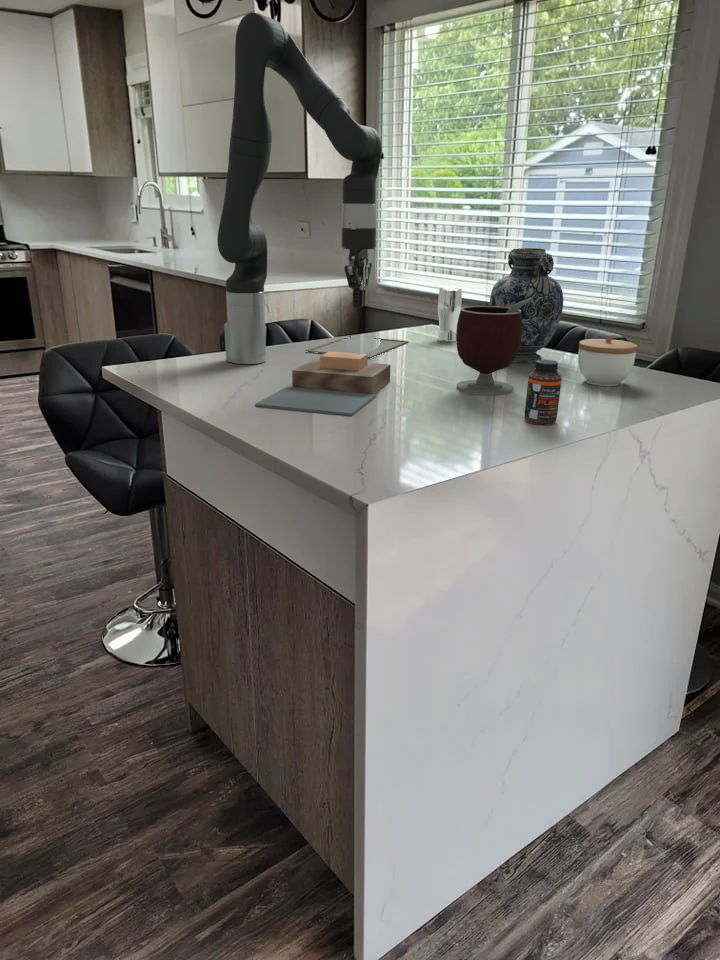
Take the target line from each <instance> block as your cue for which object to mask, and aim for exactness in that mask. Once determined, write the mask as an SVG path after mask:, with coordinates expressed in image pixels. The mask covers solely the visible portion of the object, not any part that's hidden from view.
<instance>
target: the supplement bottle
mask: <svg viewBox="0 0 720 960" xmlns="http://www.w3.org/2000/svg"><path fill="white" fill-rule="evenodd" d="M558 365H559V362H558V361H556V360H553V359H552V360H551V359H541V360H537V361H536V362H535V364H534V370H533V371H531V372H530V373H529V375H528V381H527V387H526V388H527V389H526V398H525V406H524V407H525V408H524V416H523V418H524V420H525V421H526V422H528V423H529V424H530V423H531V424H532V423H533V425H538V426H540V425H541V426H548V425H549V424H550V425H553V424H556V423H557V417H558V412H559V403H560V393H561V387H562V376H561V375H562V374H560V373H559V372H558V368H559V366H558Z"/></svg>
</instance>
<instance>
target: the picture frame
mask: <svg viewBox="0 0 720 960" xmlns="http://www.w3.org/2000/svg"><path fill="white" fill-rule="evenodd" d="M351 336H352V335H347V336H344V337H341V338H338V339H335V340H332V341H329V342H326V343H324V344H321V345H318V346H314V347H312V348H309V349H308V348H307V349H305V351H308V352H318V353H324V354H325V353H327V352H329V351H330V352H344V353H355V352H352V351H351V350H349V349H347V348H346V347H348V346H346V343H349V342H345V341H350V340H342V339H349V338H346V337H350V338H351ZM373 338H374V339H381V340H380V342H381V343H380V345H379V347H378V348H376V349H375V350H372V351H370V352H366V354H368V358H372V357H374V356H376V357H378V356H377V355H379V356H381V355H383V354H385V352H386V353H388V352H391V351H392V349H393V350H395V349H398V348H400V347H402V346H404V345H407V344H409V340H402V339H400V340H399V339H391V338H379V337H378V338H377V337H373ZM390 350H391V351H390ZM305 351H304V352H305ZM382 353H383V354H382ZM380 354H381V355H380ZM374 358H375V357H374ZM372 359H373V358H372Z"/></svg>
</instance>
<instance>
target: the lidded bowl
mask: <svg viewBox="0 0 720 960" xmlns="http://www.w3.org/2000/svg"><path fill="white" fill-rule="evenodd" d="M637 352H638V345H637V344H636V343H633V342H630V341H625V340H621V339H620V340H619V339H613V334H606V335H605V338H587V339H586V338H585V339H582V340H580V341H579V342H578V354H577V355H578V360H577V361H578V363H577V364H578V368H579V370H580V371H579V372H580V373H581V375H582V377H583V378H584V379H585V380H586V383H587V384H588V385H593V386H598V387H599V386H600V387H616V386H617V387H618V386H619V385H620V383H621V382H623V381H624V380H626V378H628V376H630V374H631V372H632V370H633V367H634V364H635V361H636V355H637Z"/></svg>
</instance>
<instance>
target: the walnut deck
mask: <svg viewBox="0 0 720 960" xmlns="http://www.w3.org/2000/svg"><path fill="white" fill-rule="evenodd" d="M291 374H292V376H291V377H292V378H291V379H292V381H291V382H292V386H291V387H299V388H310V389H321V390H332V391H343V392H354V393H365V394H377V393H378V392H379V391H380V390H382V389H383V388H385V387H386V386H387V385H388V384H389V383H391V364H388V363H387V364H386V363H376V362H368V366H366V367H364V368H363V369H361V370H360V371H357V370H344V369H332V368H320V358H314V359H312V360H310V361H308V362H306V363H304V364H302V365H300V366H298V367H296V368H294V369H292V370H291Z"/></svg>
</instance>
